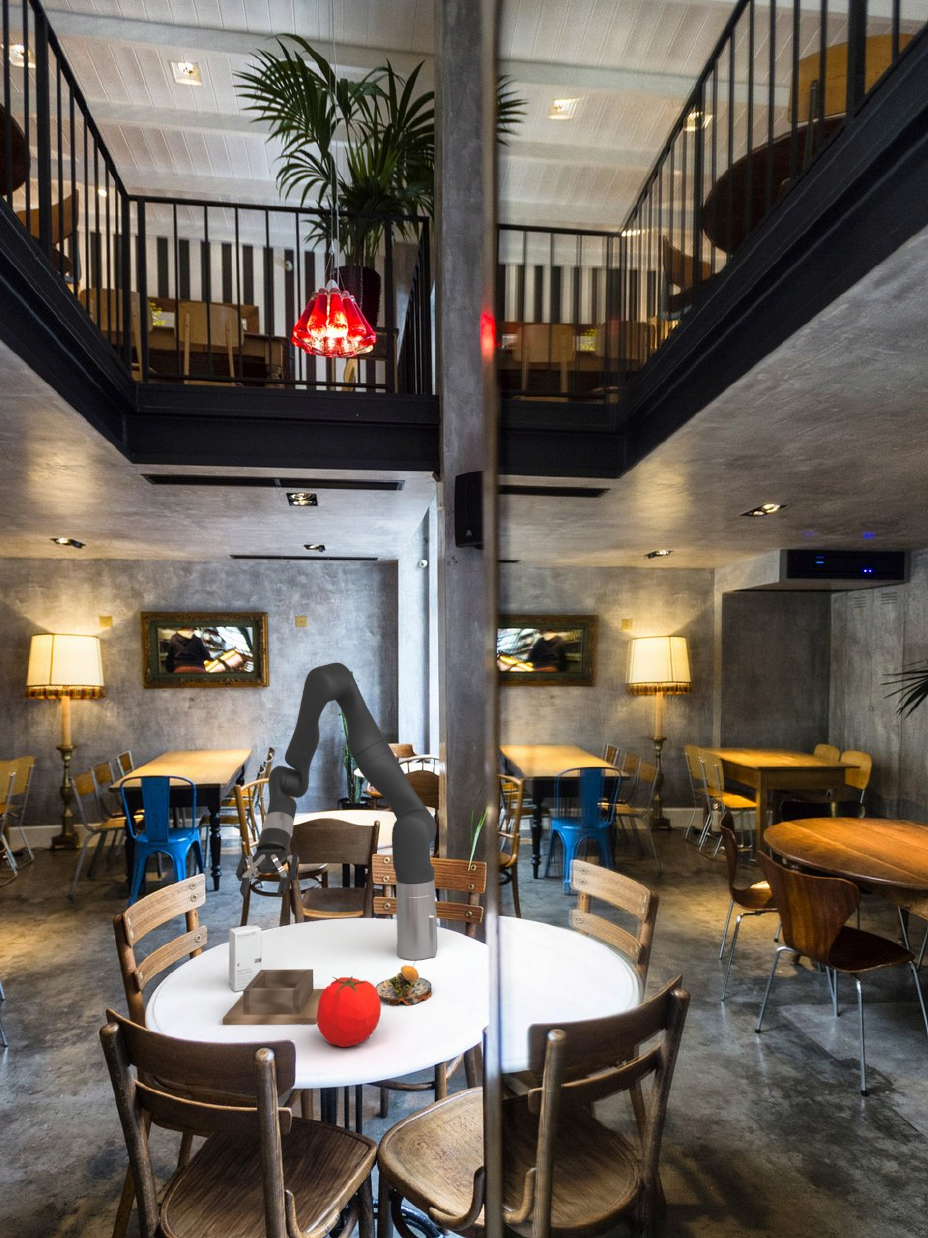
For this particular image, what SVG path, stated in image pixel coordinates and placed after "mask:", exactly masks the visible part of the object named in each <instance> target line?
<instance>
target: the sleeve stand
mask: <svg viewBox="0 0 928 1238" xmlns="http://www.w3.org/2000/svg"><path fill="white" fill-rule="evenodd" d="M324 989H325V988H314V968H313V969H311V968H309V969H308V968H305V969H304V968H302V969H301V968H300V969H261V970H260V971H259V973H258V974H257V975H256V976H255V977H254V979H253V980H252V981H251V982H250V983H249V984H248V986H247V987H246V988H245V989H244V990H242V994H241V996H240V997H239V998H238V999H237V1000H236V1002H235V1003H234V1004H233V1005H232V1007H231V1008H230V1009H229V1010H228V1011H227V1012H226V1014H225V1015H224V1016H223V1018H222V1025H223V1026H224V1025H226V1026H228V1025H229V1026H230V1025H231V1026H235V1025H240V1026H242V1025H244V1026H245V1025H246V1026H247V1025H248V1026H249V1025H250V1026H251V1025H252V1026H253V1025H257V1026H258V1025H262V1026H263V1025H264V1026H265V1025H272V1026H273V1025H275V1026H276V1025H316V1024H317V1010H318V1003H319V998H320V996H321V994H322V992H323V990H324Z"/></svg>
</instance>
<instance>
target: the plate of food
mask: <svg viewBox="0 0 928 1238" xmlns="http://www.w3.org/2000/svg"><path fill="white" fill-rule="evenodd" d="M415 963H416V961H414V963H413V964H415ZM419 975H420V974H419V972H418V970H417V969H416V968H415V967H414V966H413V965H406V964H405V965H403V966H402V967H401V966H400V972H398V973H397V974H396V976H393V977H392V978H388V979H385V980H383V981H381V982H378V984H377V985H376V986H375V988H376V990H377V992H378V995H379V998H384V999H386V1000H387V1004H388V1006H392V1007H400V1003H401V1002H403V1003H404V1004H405V1005H407V1006H412V1005H416V1004H417V1003H418V1002H421V1001H422V1000H423V1001H424V1002H425V1001H426V1002H427V1000H429V999H430V997H432V995H433V991H432V990H433V989H432V982H430V981H429V980H427V979H426V978H423V977H420V976H419Z"/></svg>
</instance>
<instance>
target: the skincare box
mask: <svg viewBox="0 0 928 1238" xmlns="http://www.w3.org/2000/svg"><path fill="white" fill-rule="evenodd" d="M262 930H263V929H262V928H261V927H260V926H258V925H257V924H250V925H249V924H248V925H243V926H239V927H233V928H230V929H229V930H228V931H229V933H228V934H229V941H228V942H229V943H228V944H229V947H228V948H229V949H228V950H229V951H228V957H229V958H228V959H229V960H228V964H229V965H228V986H229V988H230V989H231V990H232V991H233V992H234V993H236V992H241V991H243V990H244V989H245V988H246V987H247V986H248V984H249V983H250V982H251V981H252V980H253V979H254V977H255V976H256V975H257V974H258V973H259V971H260V970H262V949H263V947H262V943H263V942H262V939H263V938H262V933H263V931H262Z"/></svg>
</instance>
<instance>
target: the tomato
mask: <svg viewBox="0 0 928 1238" xmlns="http://www.w3.org/2000/svg"><path fill="white" fill-rule="evenodd" d="M332 978H334V979H335V980H334V981H332V982H330V985H327V986H326V987H325V988H323V989H324V990H323V992H322V994H321V996H320V998H319V1003H318V1010H317V1023H316V1024H317V1028H318V1029H319V1032H320V1034H321V1036H322V1037H323V1038H324V1039H325V1040H326V1041H327V1042H328V1043H329V1044H331V1045H334V1046H337V1047H341V1048H347V1047H351V1046H355V1045H358V1044H361V1043H362V1042H364V1041H366V1040H367V1039H368V1038H369V1037H370V1036H371V1035H372V1034H373V1033H374V1032H375V1030H376V1028H377V1026H378V1024H379V1021H380V1017H381V1011H382V1006H381V1004H382V1003H381V997H380V996H379V995H378V992H377V990H376V986H374V984H373V983H371V982H370V981H369V980H360V979H357V978H354V977H353V975H351V976H350V977H348V976H347V977H343V976H342V977H339V978H336V977H335V976H332Z"/></svg>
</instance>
